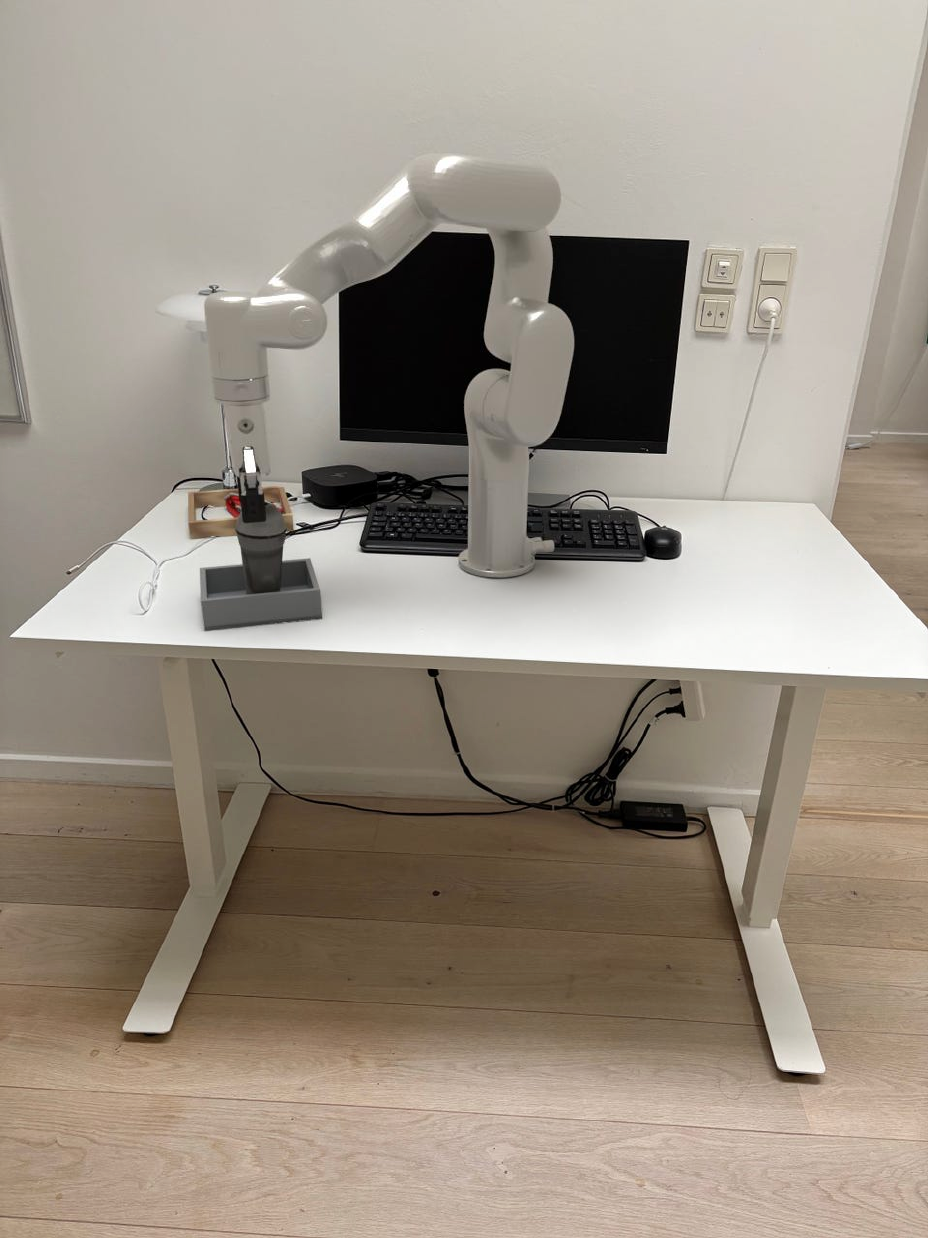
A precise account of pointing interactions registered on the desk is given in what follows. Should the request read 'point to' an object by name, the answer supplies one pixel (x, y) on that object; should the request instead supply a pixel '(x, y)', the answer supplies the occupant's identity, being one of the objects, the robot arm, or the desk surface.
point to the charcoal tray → (258, 597)
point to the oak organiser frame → (229, 524)
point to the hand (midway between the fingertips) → (252, 510)
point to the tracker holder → (235, 500)
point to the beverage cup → (262, 551)
